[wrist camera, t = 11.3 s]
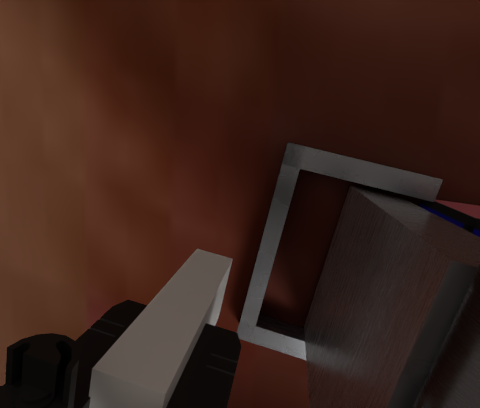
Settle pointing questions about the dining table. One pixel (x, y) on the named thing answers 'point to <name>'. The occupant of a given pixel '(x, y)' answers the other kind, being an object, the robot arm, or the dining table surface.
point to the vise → (295, 158)
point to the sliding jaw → (395, 310)
